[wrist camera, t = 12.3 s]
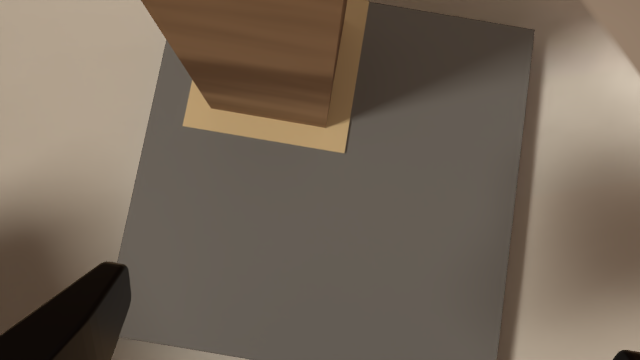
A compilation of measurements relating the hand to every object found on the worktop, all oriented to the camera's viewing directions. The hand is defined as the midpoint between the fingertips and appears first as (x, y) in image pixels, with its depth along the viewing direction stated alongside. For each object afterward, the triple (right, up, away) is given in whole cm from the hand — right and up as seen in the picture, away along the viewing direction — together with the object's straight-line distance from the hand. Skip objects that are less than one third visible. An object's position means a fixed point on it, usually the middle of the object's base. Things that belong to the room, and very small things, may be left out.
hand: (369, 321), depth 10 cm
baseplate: (-1, +3, +14) cm, 14 cm away
